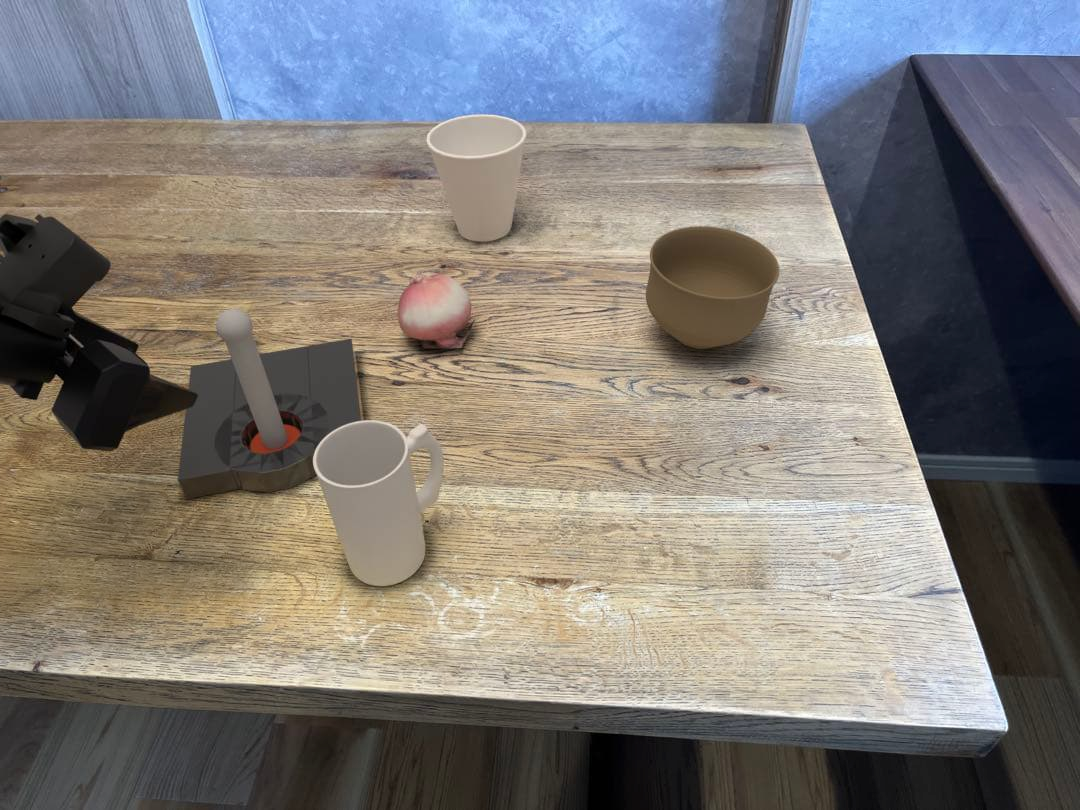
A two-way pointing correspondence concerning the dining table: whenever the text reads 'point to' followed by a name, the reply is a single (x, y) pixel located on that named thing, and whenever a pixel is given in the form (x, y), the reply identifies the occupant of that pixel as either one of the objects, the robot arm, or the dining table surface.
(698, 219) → the dining table surface
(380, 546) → the mug
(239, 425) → the sink board
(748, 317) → the bowl
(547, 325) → the dining table surface
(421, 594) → the dining table surface
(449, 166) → the cup
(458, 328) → the onion
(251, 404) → the stopper
